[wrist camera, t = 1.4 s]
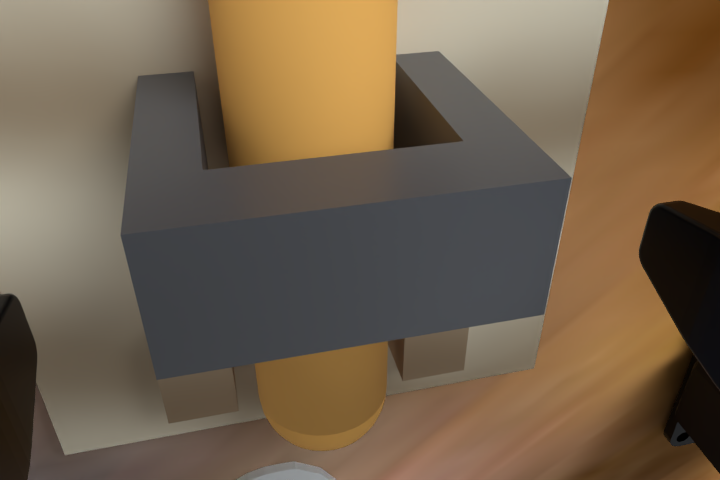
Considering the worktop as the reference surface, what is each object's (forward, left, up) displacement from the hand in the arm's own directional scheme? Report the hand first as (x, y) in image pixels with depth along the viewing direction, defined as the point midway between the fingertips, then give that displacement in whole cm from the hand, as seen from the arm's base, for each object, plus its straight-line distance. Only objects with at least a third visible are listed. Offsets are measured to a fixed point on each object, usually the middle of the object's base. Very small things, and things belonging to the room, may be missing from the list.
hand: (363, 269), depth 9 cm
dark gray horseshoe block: (0, 0, -5) cm, 5 cm away
